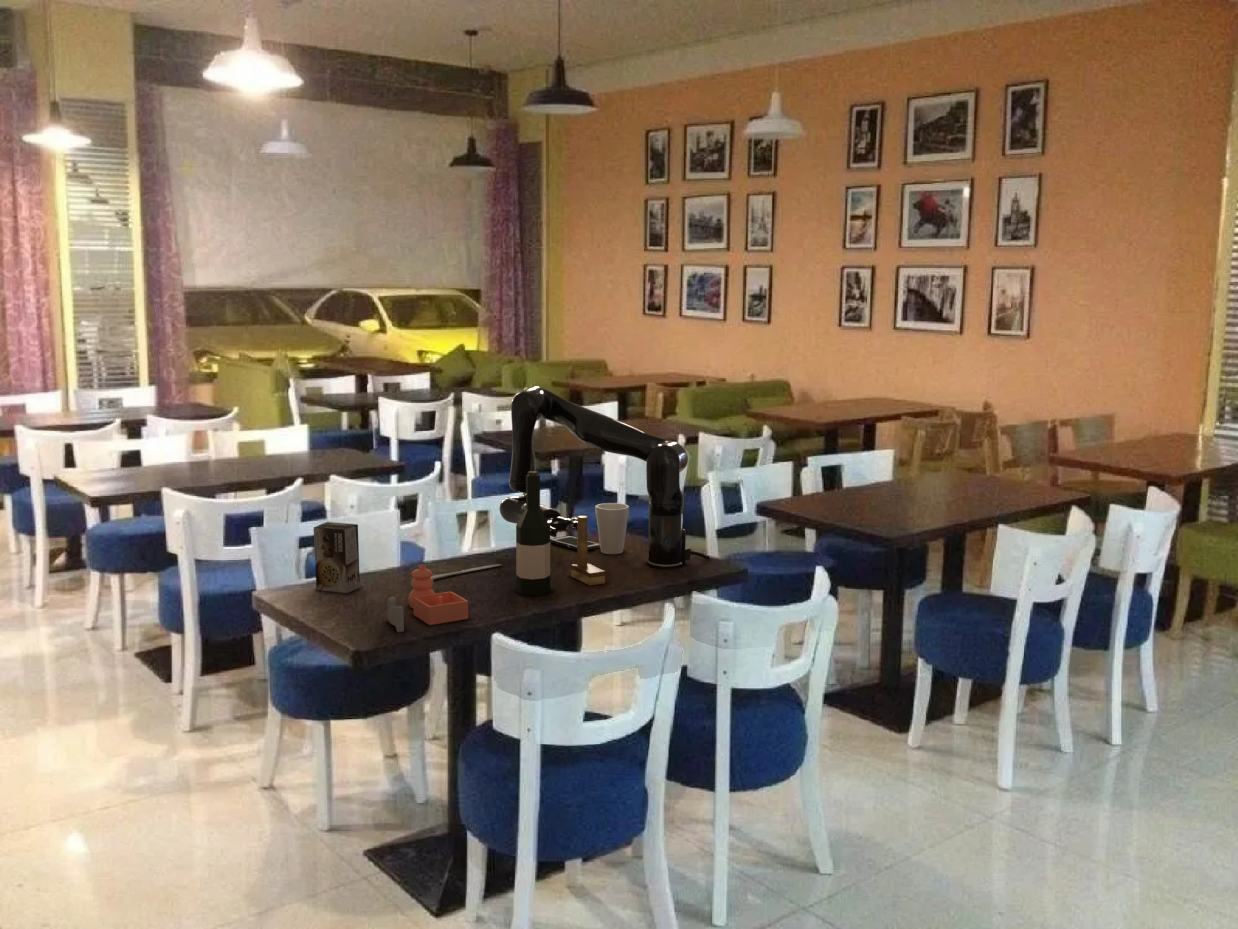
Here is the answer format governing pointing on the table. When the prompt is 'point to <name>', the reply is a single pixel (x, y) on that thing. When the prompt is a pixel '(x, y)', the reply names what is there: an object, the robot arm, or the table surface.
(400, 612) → the grey stepped plate
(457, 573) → the butter knife
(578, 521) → the brush
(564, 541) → the cell phone
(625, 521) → the foam cup
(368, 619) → the table surface
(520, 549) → the wine bottle
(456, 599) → the pottery
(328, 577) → the coffee box
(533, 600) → the table surface
